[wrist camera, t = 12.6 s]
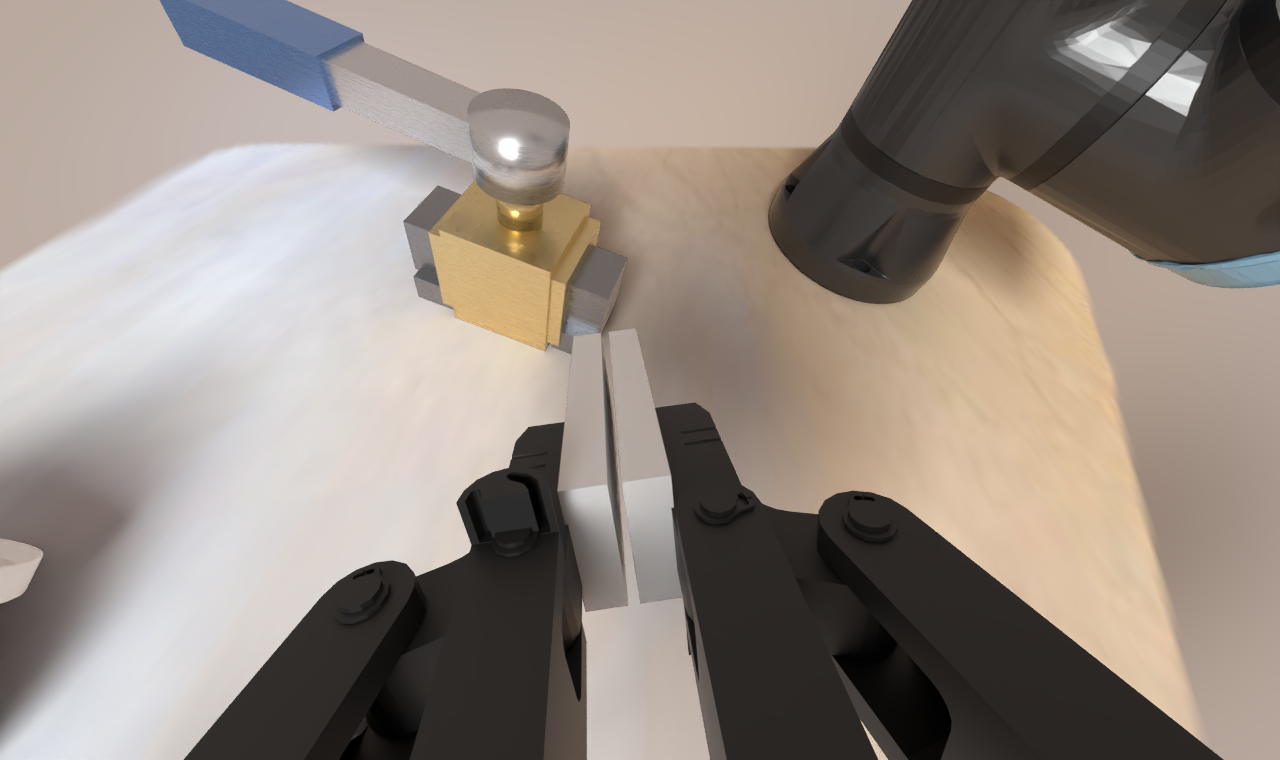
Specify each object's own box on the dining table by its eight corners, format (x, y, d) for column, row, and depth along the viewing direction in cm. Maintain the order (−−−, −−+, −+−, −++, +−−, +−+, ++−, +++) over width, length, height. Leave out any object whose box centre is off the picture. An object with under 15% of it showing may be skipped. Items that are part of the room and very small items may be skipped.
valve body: (618, 302, 33) (648, 188, 25) (589, 367, 29) (613, 258, 22) (457, 241, 33) (438, 106, 25) (410, 300, 29) (369, 165, 21)
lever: (539, 218, 22) (541, 160, 19) (174, 58, 22) (131, -19, 20) (578, 171, 24) (585, 114, 22) (249, 27, 25) (219, -45, 22)
